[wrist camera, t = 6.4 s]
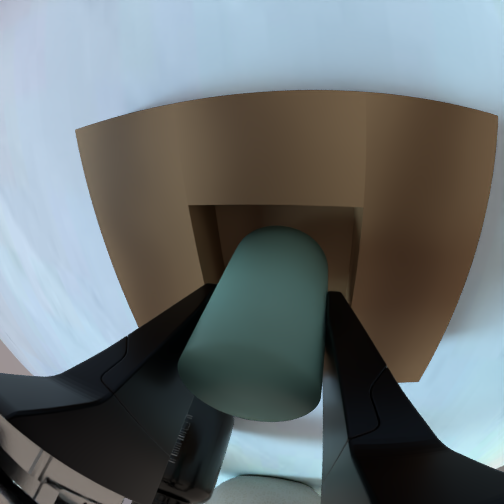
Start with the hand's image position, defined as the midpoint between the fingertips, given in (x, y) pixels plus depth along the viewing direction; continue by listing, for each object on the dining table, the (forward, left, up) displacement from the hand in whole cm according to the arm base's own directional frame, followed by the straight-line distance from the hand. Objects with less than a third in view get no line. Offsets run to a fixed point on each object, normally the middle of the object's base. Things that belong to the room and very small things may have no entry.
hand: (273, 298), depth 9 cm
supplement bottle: (+8, +18, -4) cm, 20 cm away
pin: (0, 0, -2) cm, 2 cm away
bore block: (0, 0, -4) cm, 4 cm away
